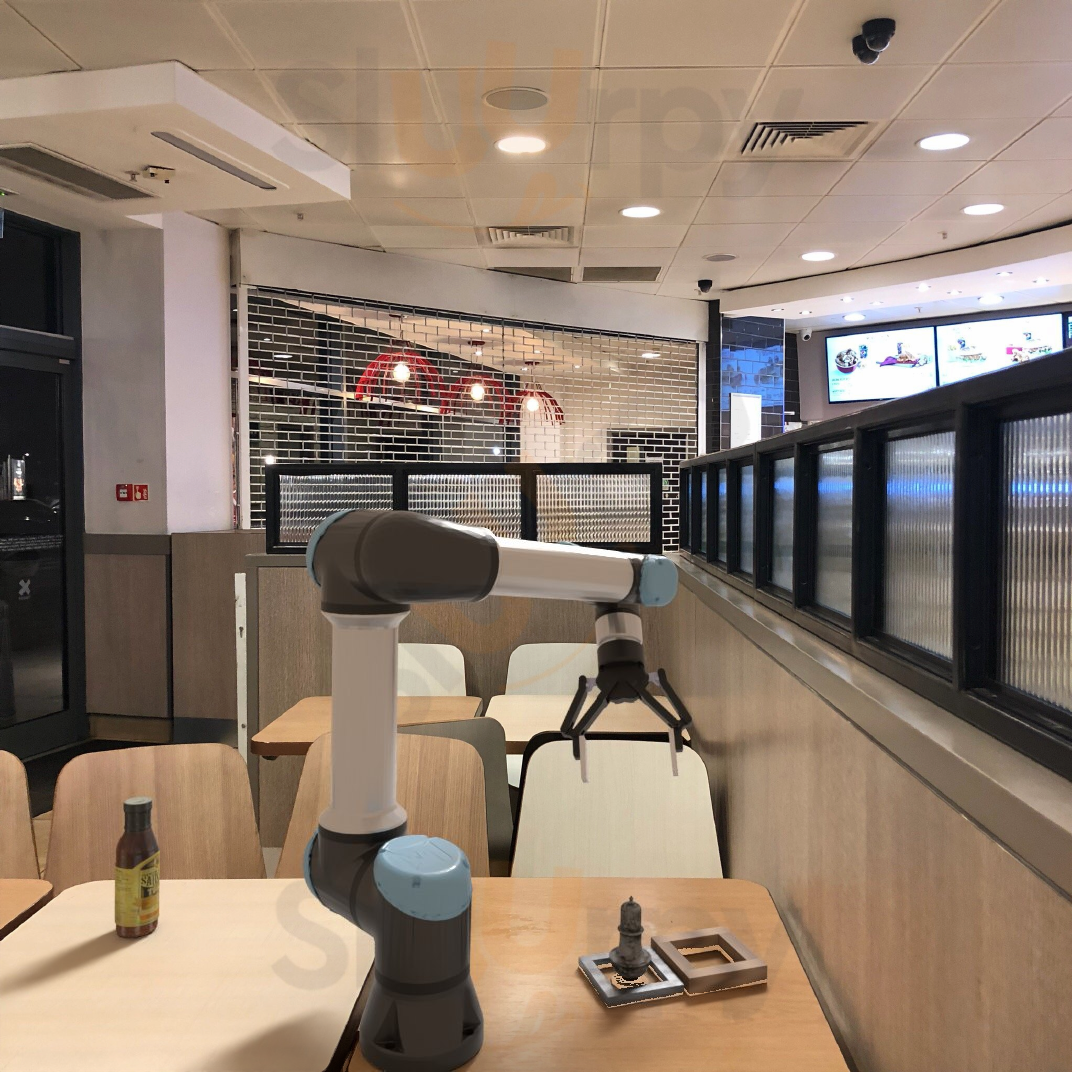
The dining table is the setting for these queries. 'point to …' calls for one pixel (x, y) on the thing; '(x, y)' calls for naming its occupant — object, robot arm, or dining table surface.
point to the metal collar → (634, 993)
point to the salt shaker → (630, 945)
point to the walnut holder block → (711, 977)
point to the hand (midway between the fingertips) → (629, 777)
